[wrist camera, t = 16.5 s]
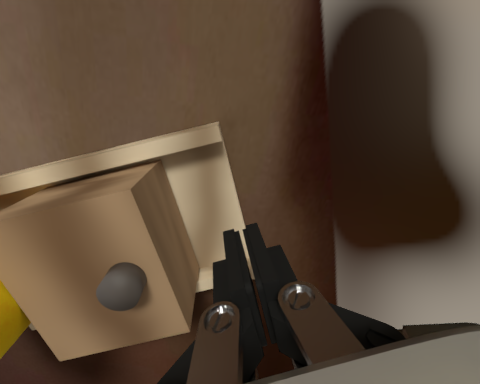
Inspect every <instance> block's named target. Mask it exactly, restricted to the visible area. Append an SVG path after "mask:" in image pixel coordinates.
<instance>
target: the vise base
mask: <svg viewBox="0 0 480 384" xmlns="http://www.w3.org/2000/svg"><path fill="white" fill-rule="evenodd" d="M160 159H161V161H162V164H163V167H164V170H165V172H166V175H167V178H168V181H169V184H170V187H171V189H172V192H173V195H174V198H175V201H176V204H177V206H178V209H179V212H180V215H181V218H182V220H183V223H184V226H185V229H186V232H187V235H188V237H189V240H190V243H191V246H192V249H193V251H194V254H195V257H196V260H197V263H198V266H199V271H198V278H197V285H196V292H200V291H205V290H209V289H213V262H217V261H220V260H224V259H226V258H225V249H224V239H223V231H227V230H231V229H234V231H239V233H240V237H241V241H242V244H243V248H244V252H245V256H246V259H247V263H248V267H249V270H250V274H251V278H252V279H255V278H254V274H253V270H252V266H251V262H250V258H249V254H248V250H247V246H246V242H245V238H244V234H243V229H246V227H245V223H244V219H243V215H242V212H241V208H240V204H239V200H238V196H237V192H236V188H235V184H234V180H233V176H232V172H231V168H230V164H229V160H228V156H227V152H226V148H225V144H224V140H223V136H222V132H221V129H220V125H219V122H214V123H210V124H206V125H202V126H198V127H194V128H190V129H186V130H182V131H178V132H174V133H170V134H166V135H162V136H158V137H153V138H149V139H145V140H141V141H137V142H133V143H129V144H125V145H121V146H117V147H113V148H109V149H105V150H101V151H97V152H92V153H88V154H84V155H80V156H76V157H72V158H68V159H64V160H60V161H56V162H52V163H48V164H44V165H40V166H35V167H31V168H27V169H23V170H19V171H15V172H11V173H7V174H3V175H0V211H2V210H3V209H5V208H7V207H9V206H11V205H13V204H15V203H17V202H19V201H21V200H23V199H25V198H27V197H29V196H31V195H33V194H35V193H37V192H39V191H41V190H43V189H45V188H47V187H49V186H53V185H57V184H61V183H66V182H70V181H74V180H78V179H82V178H86V177H90V176H94V175H98V174H102V173H107V172H111V171H115V170H119V169H123V168H127V167H131V166H135V165H139V164H144V163H148V162H152V161H156V160H160ZM29 327H30V329H31V330H36V328H35V327H34V326H33V324H32V323H31V324H30V325H29Z"/></svg>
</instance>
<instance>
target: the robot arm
mask: <svg viewBox="0 0 480 384" xmlns="http://www.w3.org/2000/svg"><path fill="white" fill-rule="evenodd" d="M243 234H244V238H245V242H246V246H247V250H248V254H249V258H250V262H251V266H252V270H253V274H254V278H255V282H256V286H257V290H258V294H259V297H260V301H261V305H262V309H263V313H264V316H265V320H266V324H267V328H268V332H269V336H270V339H271V343H272V344H274V343H277V344H278V348H279V352H281V353H283V354H285V355H287V356H288V357H290V358H291V360H292V363H293V366H294V368H295V370H291V371H288V372H284V373H280V374H277V375H273V376H270V377H266V378H263V379H259V380H258V371H257V366H258V364H259V362H260V361H261V359H262V358H263V356H264V353H263V348H262V347H263V346H266V345H267V341H266V337H265V333H264V329H263V325H262V320H261V316H260V312H259V308H258V303H257V299H256V295H255V291H254V286H253V282H252V278H251V274H250V270H249V267H248V263H247V259H246V256H245V252H244V248H243V244H242V241H241V237H240V233H239V231H234V229H231V230H227V231H223V239H224V249H225V258H226V259H224V260H220V261H217V262H213V305H211V306H209V307H208V308H207V309H206V310H205V311H204V312H203V314H202V315H201V318H200V320H199V325H198V330H197V335H196V339H195V341H194V342H193V343H192V344H191V345H190V346H189V348H188V349H187V350H186V351H185V352H184V353H183V354H182V356H181V357H180V358H179V359H178V360H177V361H176V362H175V364H174V365H173V366H172V367H171V368H170V369H169V370H168V372H167V373H166V374H165V375H164V376H163V377H162V379H161V380H160V381H159V382H158V383H157V384H480V325H479V324H477V323H445V324H424V325H403V329H395V328H394V327H392V326H390V325H388V324H386V323H383V322H380V321H378V320H375V319H372V318H369V317H366V316H364V315H361V314H358V313H355V312H353V311H350V310H347V309H344V308H342V307H339V306H336V305H333V304H330V303H328V302H327V301H326V300H325V299H324V297H323V296H322V295H321V294H320V292H319V291H318V290H317V289H316V288H315V287H314V286H313V285H311V284H309V283H307V282H302V281H297V279H296V276H295V274H294V272H293V270H292V268H291V266H290V264H289V262H288V260H287V258H286V256H285V254H284V252H283V250H282V247H281V246H280V245H277V246H273V247H269V248H266V246H265V243H264V241H263V238H262V235H261V233H260V230H259V227H258V225H257V223H254V224H250V225H246V229H243Z"/></svg>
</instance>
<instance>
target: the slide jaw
mask: <svg viewBox="0 0 480 384" xmlns="http://www.w3.org/2000/svg"><path fill="white" fill-rule="evenodd" d="M198 271H199V266H198V263H197V260H196V257H195V254H194V251H193V249H192V246H191V243H190V240H189V237H188V235H187V232H186V229H185V226H184V223H183V220H182V218H181V215H180V212H179V209H178V206H177V204H176V201H175V198H174V195H173V192H172V189H171V187H170V184H169V181H168V178H167V175H166V172H165V170H164V167H163V164H162V161H161V159H160V160H156V161H152V162H148V163H144V164H139V165H135V166H131V167H127V168H123V169H119V170H115V171H111V172H107V173H102V174H98V175H94V176H90V177H86V178H82V179H78V180H74V181H70V182H66V183H61V184H57V185H53V186H49V187H47V188H45V189H43V190H41V191H39V192H37V193H35V194H33V195H31V196H29V197H27V198H25V199H23V200H21V201H19V202H17V203H15V204H13V205H11V206H9V207H7V208H5V209H3V210H2V211H0V280H1V282H2V283H3V284H4V286H5V287H6V289H7V290H8V291H9V293H10V294H11V295H12V297H13V298H14V299H15V301H16V302H17V304H18V305H19V306H20V308H21V309H22V310H23V312H24V313H25V315H26V316H27V317H28V319H29V320H30V321H31V323H32V324H33V326H34V327H35V328H36V330H37V331H38V332H39V334H40V335H41V337H42V338H43V339H44V341H45V342H46V343H47V345H48V346H49V347H50V349H51V350H52V352H53V353H54V354H55V356H56V357H57V358H58V360H59V361H65V360H69V359H73V358H78V357H82V356H86V355H91V354H95V353H100V352H104V351H108V350H113V349H117V348H121V347H126V346H130V345H134V344H139V343H143V342H148V341H152V340H156V339H161V338H165V337H169V336H174V335H178V334H182V333H187V332H190V329H191V321H192V314H193V307H194V300H195V293H196V285H197V278H198Z"/></svg>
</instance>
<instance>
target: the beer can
mask: <svg viewBox="0 0 480 384" xmlns="http://www.w3.org/2000/svg"><path fill="white" fill-rule="evenodd" d="M30 324H31V321H30V320H29V319H28V317H27V316H26V315H25V313H24V312H23V310H22V309H21V308H20V306H19V305H18V304H17V302H16V301H15V299H14V298H13V297H12V295H11V294H10V293H9V291H8V290H7V289H6V287H5V286H4V284H3V283H2V282H1V280H0V359H1V358H2V356H3V355H4V354H5V353H6V352H7V351H8V349H9V348H10V347H11V346H12V345H13V344H14V342H15V341H16V340H17V339H18V338H19V336H20V335H21V334H22V333H23V332H24V331H25V329H26V328H27V327H28V326H29V325H30Z"/></svg>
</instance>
